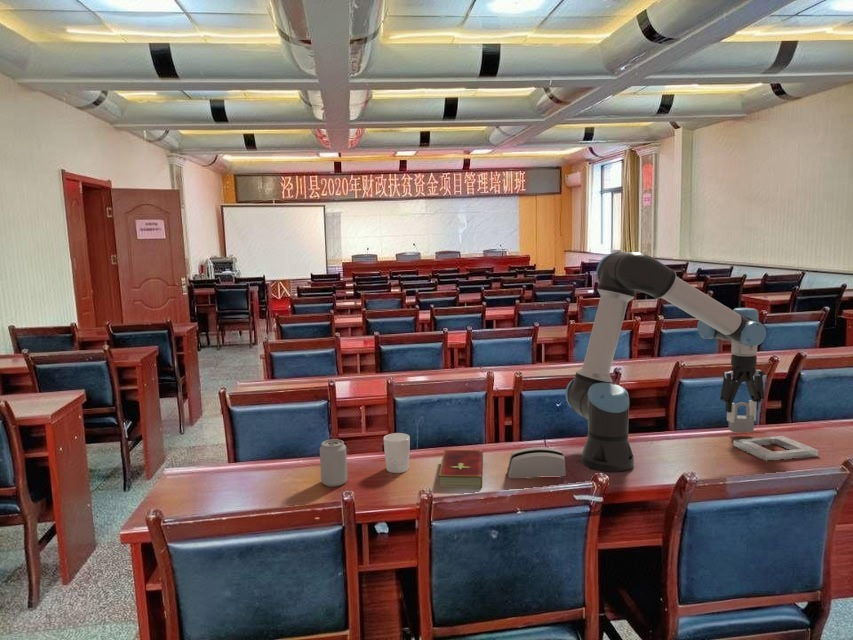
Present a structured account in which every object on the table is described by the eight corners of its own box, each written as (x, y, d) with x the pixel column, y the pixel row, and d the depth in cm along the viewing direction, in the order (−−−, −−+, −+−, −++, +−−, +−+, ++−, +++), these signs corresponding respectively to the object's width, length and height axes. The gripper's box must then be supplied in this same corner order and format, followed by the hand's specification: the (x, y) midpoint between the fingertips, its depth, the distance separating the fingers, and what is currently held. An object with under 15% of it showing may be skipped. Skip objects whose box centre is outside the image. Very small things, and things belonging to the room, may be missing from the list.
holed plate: (765, 461, 172) (766, 454, 172) (733, 446, 186) (733, 440, 186) (817, 456, 175) (818, 449, 175) (782, 441, 189) (782, 435, 189)
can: (348, 477, 168) (347, 437, 167) (346, 487, 161) (344, 446, 159) (323, 478, 168) (321, 438, 166) (319, 488, 160) (317, 447, 159)
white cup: (387, 475, 169) (386, 442, 167) (382, 466, 176) (381, 434, 175) (413, 472, 171) (412, 439, 169) (407, 463, 178) (406, 431, 177)
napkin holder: (562, 470, 169) (565, 443, 165) (566, 481, 165) (569, 454, 160) (505, 472, 169) (507, 445, 164) (508, 483, 165) (509, 456, 160)
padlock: (733, 433, 193) (734, 404, 192) (727, 429, 197) (728, 401, 196) (754, 432, 193) (755, 403, 192) (748, 428, 197) (749, 400, 196)
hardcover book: (483, 462, 179) (482, 449, 178) (482, 490, 158) (482, 475, 157) (444, 461, 180) (444, 448, 179) (438, 489, 159) (438, 474, 159)
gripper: (724, 358, 187) (721, 426, 189) (779, 354, 190) (776, 421, 193) (709, 354, 194) (707, 419, 197) (762, 350, 197) (759, 415, 200)
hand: (741, 420), depth 195 cm, fingers closed on padlock, 7 cm apart
